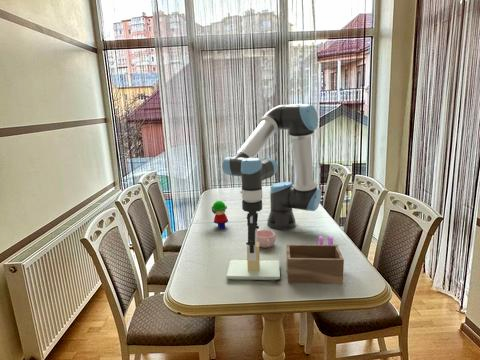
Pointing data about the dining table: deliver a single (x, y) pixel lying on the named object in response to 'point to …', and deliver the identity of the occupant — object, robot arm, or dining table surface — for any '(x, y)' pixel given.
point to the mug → (266, 238)
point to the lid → (253, 268)
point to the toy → (220, 214)
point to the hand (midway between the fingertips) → (253, 252)
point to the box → (314, 264)
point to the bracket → (330, 240)
